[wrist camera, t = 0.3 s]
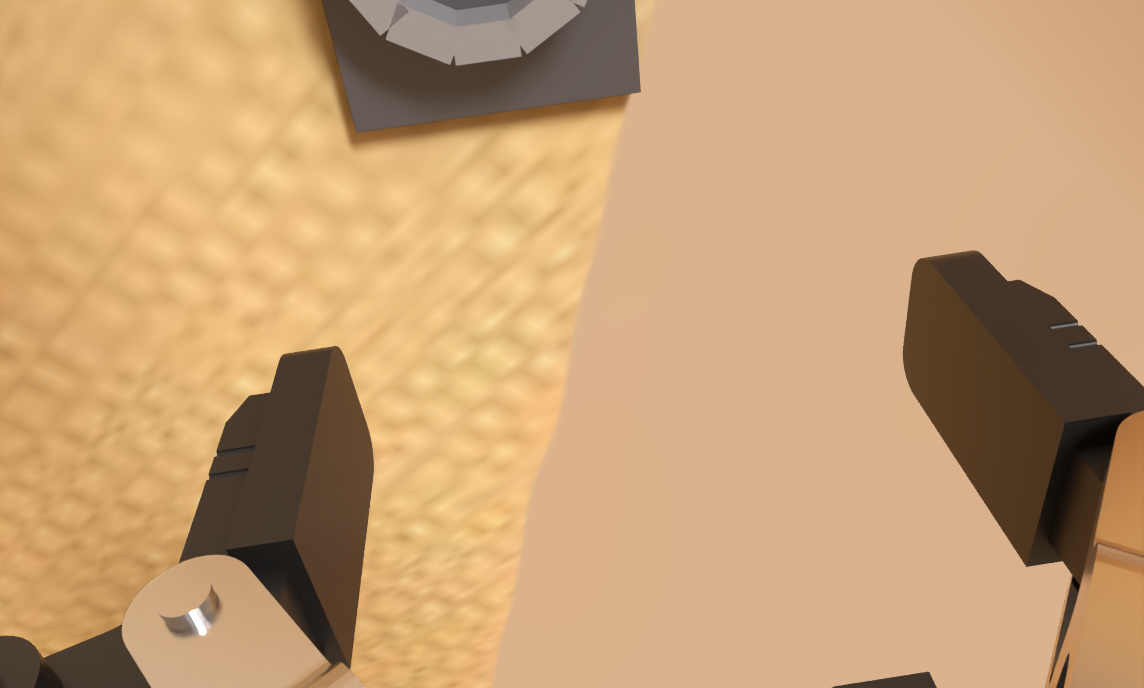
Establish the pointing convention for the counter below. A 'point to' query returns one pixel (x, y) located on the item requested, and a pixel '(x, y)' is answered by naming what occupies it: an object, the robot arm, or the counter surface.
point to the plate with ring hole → (479, 56)
